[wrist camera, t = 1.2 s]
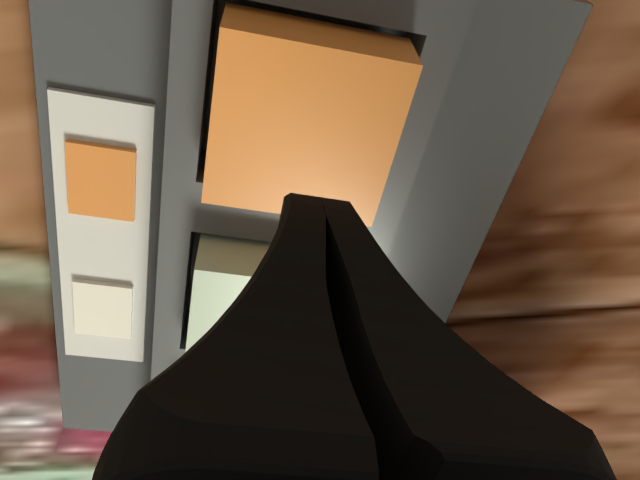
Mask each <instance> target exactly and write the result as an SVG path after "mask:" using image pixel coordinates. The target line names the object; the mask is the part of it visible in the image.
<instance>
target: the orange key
mask: <svg viewBox="0 0 640 480" xmlns="http://www.w3.org/2000/svg"><path fill="white" fill-rule="evenodd" d="M422 68H423V64H422V62H421V60H420V58H419V56H418V54H417V52H416V50H415V48H414V46H413V44H412V42H411V40H410V38H406V37H401V36H396V35H391V34H385V33H380V32H375V31H370V30H365V29H360V28H355V27H350V26H345V25H340V24H335V23H330V22H325V21H319V20H314V19H309V18H304V17H299V16H294V15H289V14H284V13H279V12H274V11H269V10H264V9H259V8H253V7H248V6H243V5H238V4H233V3H228V2H226V5H225V9H224V12H223V16H222V20H221V24H220V28H219V38H218V47H217V57H216V66H215V76H214V85H213V95H212V104H211V113H210V123H209V132H208V142H207V151H206V161H205V170H204V180H203V189H202V199H201V203H206V204H213V205H220V206H227V207H234V208H241V209H248V210H255V211H262V212H270V213H277V214H281V209H282V204H283V199H284V196H286V195H288V194H289V193H296V194H303V195H310V196H316V197H323V198H330V199H337V200H343V201H350V203H351V204H352V206H353V207H354V209H355V210H356V212H357V213H358V215H359V216H360V218H361V219H362V221H363V222H364V224H365V225H366V226H368V227H372V225H373V221H374V218H375V215H376V212H377V209H378V206H379V203H380V199H381V196H382V193H383V190H384V187H385V184H386V181H387V178H388V174H389V171H390V168H391V165H392V162H393V159H394V156H395V152H396V149H397V146H398V143H399V140H400V137H401V134H402V130H403V127H404V124H405V121H406V118H407V115H408V112H409V109H410V105H411V102H412V99H413V96H414V93H415V90H416V87H417V83H418V80H419V77H420V74H421V71H422Z"/></svg>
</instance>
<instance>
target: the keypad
mask: <svg viewBox="0 0 640 480" xmlns="http://www.w3.org/2000/svg"><path fill="white" fill-rule="evenodd" d="M226 2H228V3H233V4H238V5H243V6H248V7H253V8H259V9H264V10H269V11H274V12H279V13H284V14H289V15H294V16H299V17H304V18H309V19H314V20H319V21H325V22H330V23H335V24H340V25H345V26H350V27H355V28H360V29H365V30H370V31H375V32H380V33H385V34H391V35H396V36H401V37H406V38H410V40H411V42H412V44H413V46H414V48H415V50H416V52H417V54H418V56H419V58H420V60H421V62H422V64H423V68H422V71H421V74H420V77H419V80H418V83H417V87H416V90H415V93H414V96H413V99H412V102H411V105H410V109H409V112H408V115H407V118H406V121H405V124H404V127H403V130H402V134H401V137H400V140H399V143H398V146H397V149H396V152H395V156H394V159H393V162H392V165H391V168H390V171H389V174H388V178H387V181H386V184H385V187H384V190H383V193H382V196H381V199H380V203H379V206H378V209H377V212H376V215H375V218H374V221H373V225H372V227H368V226H366V227H367V228H368V230H369V231H370V233H371V234H372V236H373V237H374V239H375V240H376V242H377V243H378V245H379V246H380V247H381V249H382V250H383V252H384V253H385V254H386V256H387V257H388V259H389V260H390V261H391V263H392V264H393V265H394V267H395V268H396V269H397V271H398V272H399V273H400V274H401V276H402V277H403V278H404V279H405V280H406V282H407V283H408V284H409V285H410V286H411V288H412V289H413V290H414V291H415V292H416V293H417V295H418V296H419V297H420V298H421V299H422V300H423V301H424V302H425V303H426V305H427V306H428V307H429V308H430V309H431V310H432V311H433V312H434V313H435V314H436V315H437V316H438V317H439V318H440V319H441V320H442V321H443V322H444V323H446V321H447V319H448V317H449V315H450V313H451V310H452V308H453V306H454V304H455V302H456V300H457V297H458V295H459V293H460V291H461V289H462V287H463V285H464V282H465V280H466V278H467V276H468V274H469V272H470V270H471V267H472V265H473V263H474V261H475V259H476V257H477V254H478V252H479V250H480V248H481V246H482V244H483V242H484V239H485V237H486V235H487V233H488V231H489V229H490V226H491V224H492V222H493V220H494V218H495V216H496V214H497V211H498V209H499V207H500V205H501V203H502V201H503V199H504V196H505V194H506V192H507V190H508V188H509V186H510V183H511V181H512V179H513V177H514V175H515V173H516V171H517V168H518V166H519V164H520V162H521V160H522V158H523V155H524V153H525V151H526V149H527V147H528V145H529V143H530V140H531V138H532V136H533V134H534V132H535V130H536V128H537V125H538V123H539V121H540V119H541V117H542V115H543V112H544V110H545V108H546V106H547V104H548V102H549V100H550V97H551V95H552V93H553V91H554V89H555V87H556V84H557V82H558V80H559V78H560V76H561V74H562V72H563V69H564V67H565V65H566V63H567V61H568V59H569V57H570V54H571V52H572V50H573V48H574V46H575V44H576V41H577V39H578V37H579V35H580V33H581V31H582V29H583V26H584V24H585V22H586V20H587V18H588V16H589V13H590V11H591V9H592V7H593V4H591V3H590V2H588V1H587V0H29V13H30V25H31V37H32V50H33V62H34V74H35V86H36V99H37V111H38V123H39V136H40V148H41V160H42V173H43V185H44V197H45V209H46V222H47V234H48V246H49V259H50V271H51V283H52V295H53V308H54V320H55V332H56V345H57V357H58V369H59V381H60V394H61V406H62V418H63V428H72V429H84V430H97V431H109V432H113V430H114V428H115V426H116V425H117V423H118V421H119V420H120V418H121V416H122V415H123V413H124V411H125V410H126V408H127V407H128V405H129V404H130V402H131V400H132V399H133V397H134V396H135V394H136V393H137V391H138V390H139V389H141V388H142V387H143V386H145V385H146V384H147V383H148V382H150V381H151V380H152V379H154V378H155V377H156V376H157V375H159V374H160V373H161V372H163V371H164V370H165V369H167V368H168V367H169V366H170V365H172V364H173V363H174V362H175V361H176V360H178V359H179V358H180V357H181V356H182V355H183V354H184V353H185V351H186V341H187V332H188V322H189V313H190V303H191V294H192V284H193V275H194V267H195V262H196V256H197V251H198V246H199V240H200V235H201V233H206V234H213V235H221V236H228V237H236V238H243V239H251V240H258V241H266V242H272V239H273V237H274V235H275V233H276V231H277V229H278V224H279V219H280V214H277V213H270V212H262V211H255V210H248V209H241V208H234V207H227V206H220V205H213V204H206V203H201V199H202V189H203V180H204V170H205V161H206V151H207V142H208V132H209V123H210V113H211V104H212V95H213V85H214V76H215V66H216V57H217V47H218V38H219V28H220V24H221V20H222V16H223V12H224V9H225V5H226Z"/></svg>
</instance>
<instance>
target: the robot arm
mask: <svg viewBox="0 0 640 480" xmlns="http://www.w3.org/2000/svg"><path fill="white" fill-rule="evenodd" d="M92 480H617V479H616V477H615V475H614V473H613V471H612V469H611V466H610V464H609V462H608V460H607V458H606V456H605V454H604V452H603V450H602V448H601V446H600V444H599V442H598V440H597V438H596V436H595V435H594V433H593V431H592V430H591V429H589V428H587V427H586V426H584V425H583V424H581V423H579V422H578V421H576V420H574V419H573V418H571V417H569V416H568V415H566V414H564V413H563V412H561V411H560V410H558V409H556V408H555V407H553V406H551V405H550V404H548V403H546V402H545V401H543V400H541V399H540V398H538V397H537V396H535V395H534V394H533V393H531V392H530V391H528V390H527V389H525V388H524V387H523V386H521V385H520V384H518V383H517V382H515V381H514V380H513V379H511V378H510V377H508V376H507V375H506V374H504V373H503V372H502V371H500V370H499V369H498V368H496V367H495V366H494V365H493V364H491V363H490V362H489V361H487V360H486V359H485V358H484V357H483V356H481V355H480V354H479V353H478V352H477V351H475V350H474V349H473V348H472V347H471V346H469V345H468V344H467V343H466V342H465V341H464V340H462V339H461V338H460V337H459V336H458V335H457V334H456V333H455V332H454V331H452V330H451V329H450V328H449V327H448V326H447V325H446V324H445V323H444V322H443V321H442V320H441V319H440V318H439V317H438V316H437V315H436V314H435V313H434V312H433V311H432V310H431V309H430V308H429V307H428V306H427V305H426V303H425V302H424V301H423V300H422V299H421V298H420V297H419V296H418V295H417V293H416V292H415V291H414V290H413V289H412V288H411V286H410V285H409V284H408V283H407V282H406V280H405V279H404V278H403V277H402V276H401V274H400V273H399V272H398V271H397V269H396V268H395V267H394V265H393V264H392V263H391V261H390V260H389V259H388V257H387V256H386V254H385V253H384V252H383V250H382V249H381V247H380V246H379V245H378V243H377V242H376V240H375V239H374V237H373V236H372V234H371V233H370V231H369V230H368V228H367V227H366V225H365V224H364V222H363V221H362V219H361V218H360V216H359V215H358V213H357V212H356V210H355V209H354V207H353V206H352V204H351V203H350V201H343V200H337V199H330V198H323V197H316V196H310V195H303V194H296V193H289V194H288V195H286V196H284V199H283V204H282V209H281V214H280V219H279V224H278V229H277V231H276V233H275V235H274V237H273V239H272V242H271V244H270V246H269V248H268V250H267V252H266V254H265V255H264V257H263V259H262V260H261V262H260V264H259V265H258V267H257V269H256V271H255V272H254V274H253V275H252V277H251V278H250V280H249V281H248V283H247V284H246V286H245V287H244V288H243V290H242V291H241V293H240V294H239V295H238V296H237V298H236V299H235V300H234V302H233V303H232V304H231V305H230V307H229V308H228V309H227V310H226V311H225V312H224V314H223V315H222V316H221V317H220V318H219V319H218V321H217V322H216V323H215V324H214V325H213V326H212V327H211V328H210V329H209V330H208V331H207V332H206V333H205V334H204V335H203V336H202V337H201V338H200V339H199V340H198V341H197V342H196V343H195V344H194V345H193V346H192V347H191V348H189V349H188V350H187V351H186V352H185V353H184V354H183V355H182V356H181V357H180V358H179V359H178V360H176V361H175V362H174V363H173V364H172V365H170V366H169V367H168V368H167V369H165V370H164V371H163V372H161V373H160V374H159V375H157V376H156V377H155V378H154V379H152V380H151V381H150V382H148V383H147V384H146V385H145V386H143V387H142V388H141V389H139V390H138V391H137V393H136V394H135V396H134V397H133V399H132V400H131V402H130V404H129V405H128V407H127V408H126V410H125V411H124V413H123V415H122V416H121V418H120V420H119V421H118V423H117V425H116V426H115V428H114V430H113V432H112V433H111V435H110V437H109V439H108V441H107V443H106V445H105V447H104V449H103V451H102V454H101V456H100V458H99V461H98V463H97V466H96V468H95V471H94V474H93V478H92Z"/></svg>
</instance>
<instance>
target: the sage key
mask: <svg viewBox="0 0 640 480" xmlns="http://www.w3.org/2000/svg"><path fill="white" fill-rule="evenodd" d="M270 244H271V242H266V241H258V240H251V239H243V238H236V237H228V236H221V235H213V234H206V233H201V235H200V240H199V246H198V251H197V256H196V262H195V267H194V275H193V284H192V294H191V303H190V313H189V322H188V332H187V341H186V351H187V350H188V349H189V348H191V347H192V346H193V345H194V344H195V343H196V342H197V341H198V340H199V339H200V338H201V337H202V336H203V335H204V334H205V333H206V332H207V331H208V330H209V329H210V328H211V327H212V326H213V325H214V324H215V323H216V322H217V321H218V319H219V318H220V317H221V316H222V315H223V314H224V312H225V311H226V310H227V309H228V308H229V307H230V305H231V304H232V303H233V302H234V300H235V299H236V298H237V296H238V295H239V294H240V293H241V291H242V290H243V288H244V287H245V286H246V284H247V283H248V281H249V280H250V278H251V277H252V275H253V274H254V272H255V271H256V269H257V267H258V265H259V264H260V262H261V260H262V259H263V257H264V255H265V254H266V252H267V250H268V248H269V246H270ZM186 351H185V352H186Z"/></svg>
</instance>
